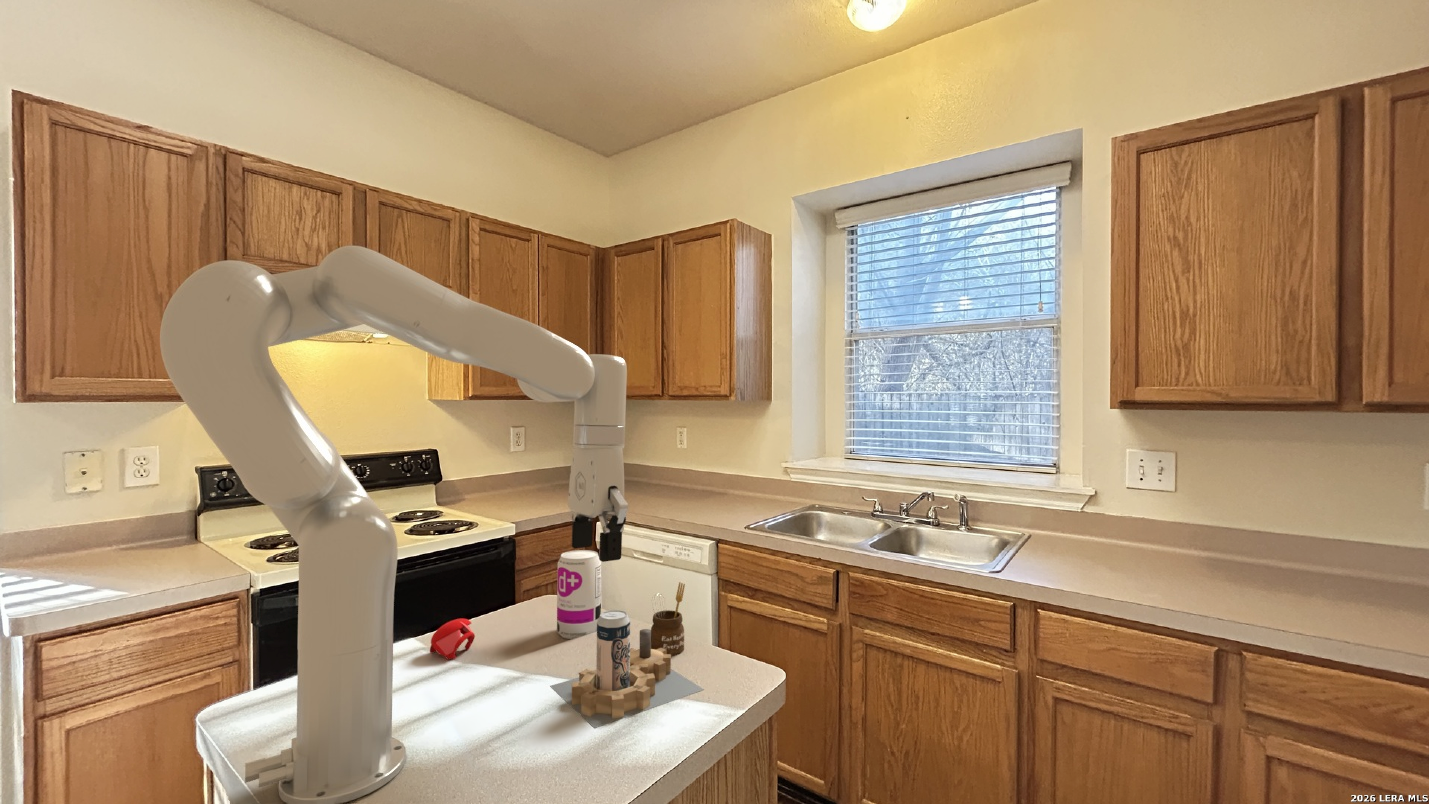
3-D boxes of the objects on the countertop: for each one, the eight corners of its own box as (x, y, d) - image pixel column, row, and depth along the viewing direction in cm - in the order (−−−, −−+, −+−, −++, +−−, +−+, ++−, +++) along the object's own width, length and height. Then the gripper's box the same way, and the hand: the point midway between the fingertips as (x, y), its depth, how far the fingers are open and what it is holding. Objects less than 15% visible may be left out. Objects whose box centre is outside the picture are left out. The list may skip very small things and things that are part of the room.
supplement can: (578, 644, 109) (579, 561, 109) (547, 634, 113) (548, 555, 114) (609, 630, 116) (610, 553, 116) (579, 622, 120) (579, 547, 120)
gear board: (594, 735, 78) (594, 728, 78) (549, 692, 90) (549, 685, 90) (704, 696, 89) (704, 689, 89) (651, 662, 101) (651, 656, 101)
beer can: (622, 707, 84) (623, 621, 84) (590, 703, 85) (591, 618, 85) (633, 691, 88) (634, 610, 89) (603, 688, 89) (604, 608, 90)
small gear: (642, 688, 89) (642, 645, 89) (608, 672, 95) (608, 631, 95) (681, 671, 95) (681, 630, 95) (647, 656, 101) (647, 618, 101)
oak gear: (595, 727, 78) (595, 707, 79) (559, 693, 88) (559, 676, 88) (669, 701, 86) (669, 683, 86) (628, 672, 95) (628, 656, 95)
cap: (487, 629, 107) (463, 608, 109) (472, 629, 102) (447, 608, 103) (457, 668, 105) (433, 647, 107) (440, 671, 100) (415, 649, 101)
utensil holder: (643, 654, 104) (643, 585, 105) (671, 645, 109) (672, 579, 109) (663, 665, 100) (664, 593, 100) (692, 655, 104) (692, 586, 104)
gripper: (553, 435, 93) (549, 545, 93) (601, 440, 79) (597, 569, 79) (597, 435, 98) (594, 540, 97) (650, 440, 84) (646, 562, 83)
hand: (595, 553), depth 88 cm, fingers open, 9 cm apart
